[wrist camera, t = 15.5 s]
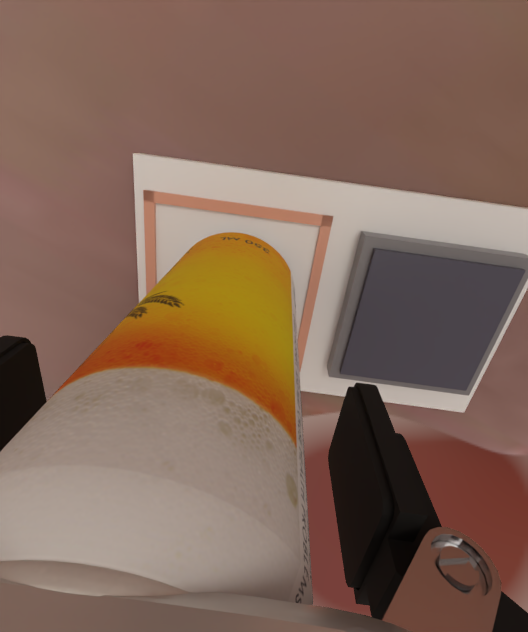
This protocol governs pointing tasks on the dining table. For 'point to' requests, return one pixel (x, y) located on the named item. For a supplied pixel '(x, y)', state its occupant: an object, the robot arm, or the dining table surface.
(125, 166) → the dining table surface
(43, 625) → the robot arm
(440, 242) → the stamping board
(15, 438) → the beer can
